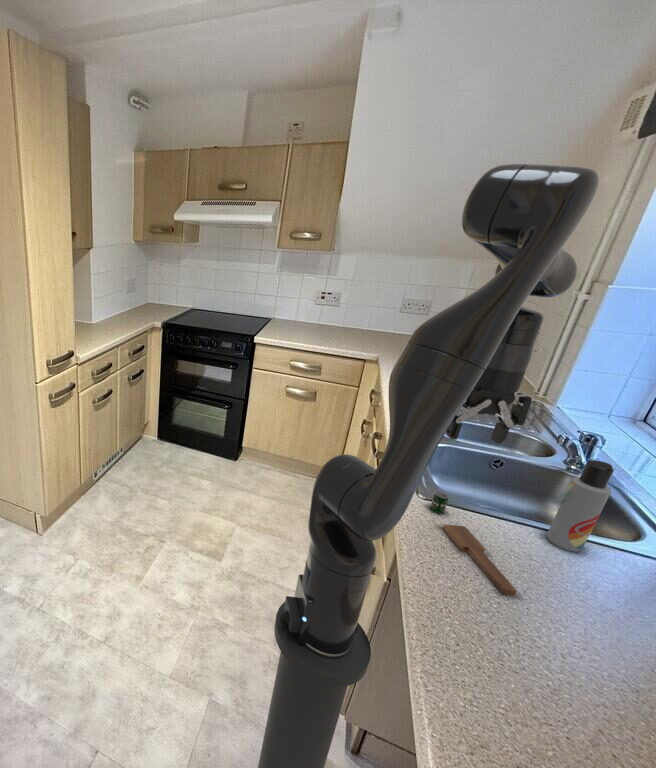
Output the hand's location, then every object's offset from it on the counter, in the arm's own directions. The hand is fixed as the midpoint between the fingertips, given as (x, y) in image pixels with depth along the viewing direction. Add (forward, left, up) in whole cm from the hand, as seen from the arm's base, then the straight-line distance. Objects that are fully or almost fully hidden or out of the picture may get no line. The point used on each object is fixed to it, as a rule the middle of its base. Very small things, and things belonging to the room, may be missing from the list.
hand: (473, 439), depth 84 cm
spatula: (+3, -8, -23) cm, 25 cm away
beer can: (+3, +8, -24) cm, 25 cm away
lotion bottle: (+25, 0, -24) cm, 35 cm away
